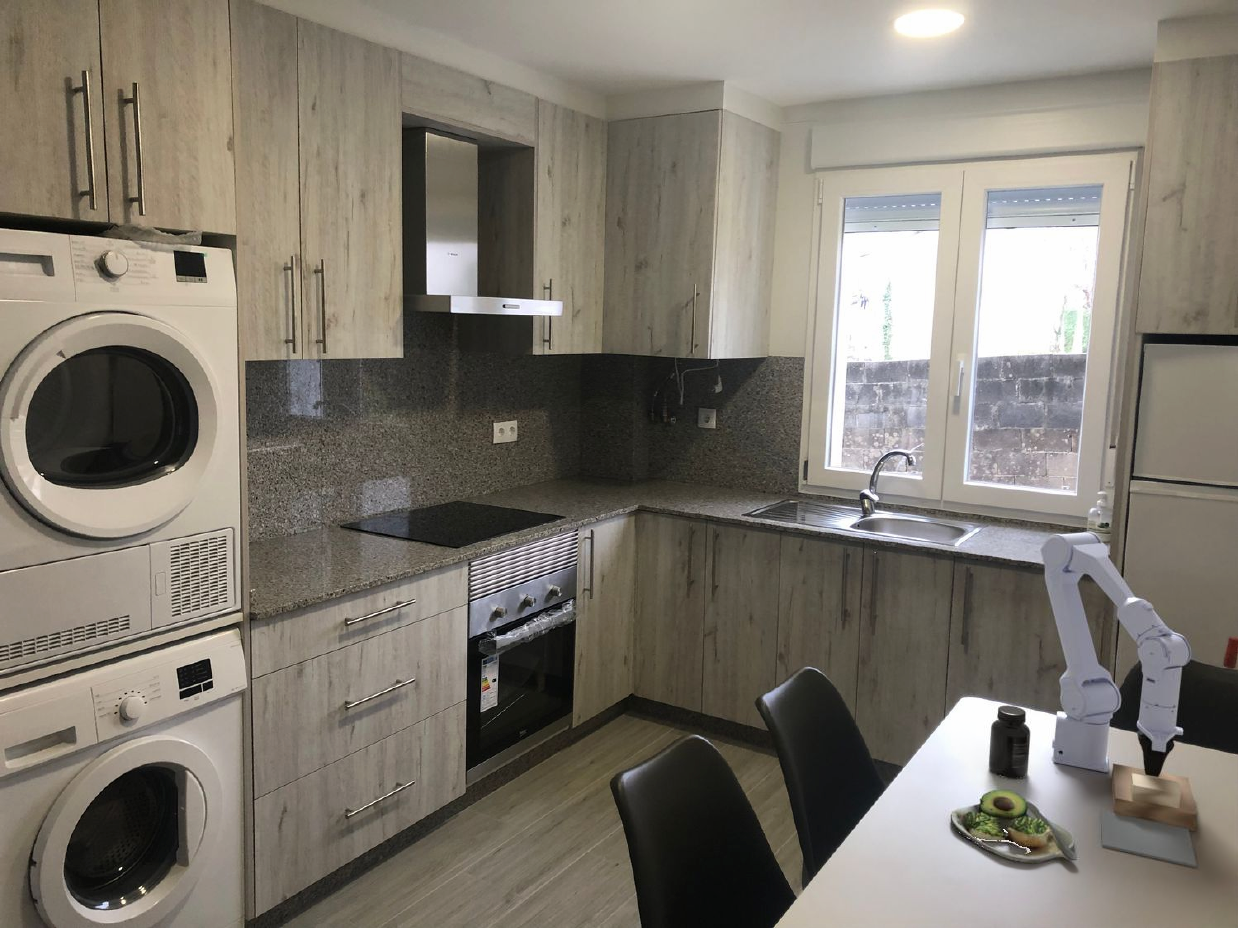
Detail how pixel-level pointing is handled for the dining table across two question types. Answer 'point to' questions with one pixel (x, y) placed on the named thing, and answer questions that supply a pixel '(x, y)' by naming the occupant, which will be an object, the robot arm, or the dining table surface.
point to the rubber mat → (1147, 838)
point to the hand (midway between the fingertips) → (1151, 774)
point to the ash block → (1155, 790)
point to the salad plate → (1014, 827)
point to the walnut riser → (1151, 811)
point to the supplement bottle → (1009, 743)
